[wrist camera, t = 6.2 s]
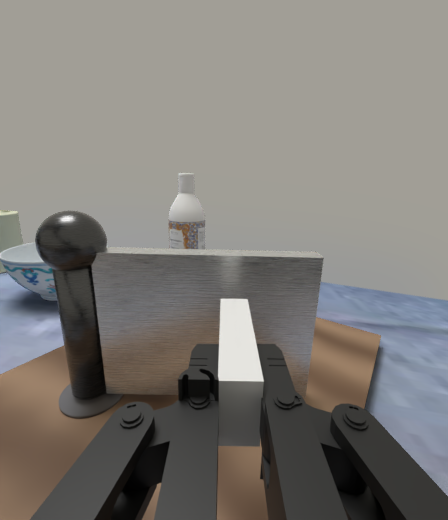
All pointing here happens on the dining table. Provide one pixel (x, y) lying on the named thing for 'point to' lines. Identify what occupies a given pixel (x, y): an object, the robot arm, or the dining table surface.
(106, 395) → the brown wooden cutting board
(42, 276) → the chinaware
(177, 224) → the bath foam
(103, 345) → the panel with knobbed post
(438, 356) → the dining table surface
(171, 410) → the robot arm
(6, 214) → the can
